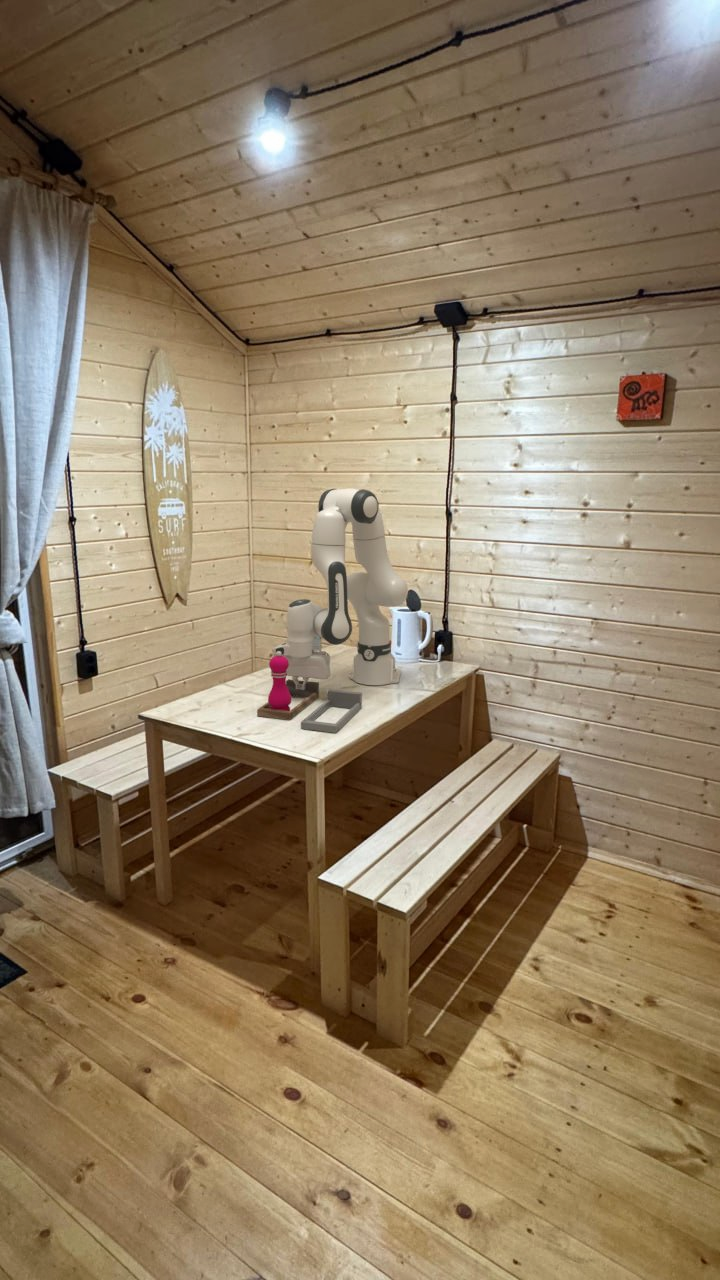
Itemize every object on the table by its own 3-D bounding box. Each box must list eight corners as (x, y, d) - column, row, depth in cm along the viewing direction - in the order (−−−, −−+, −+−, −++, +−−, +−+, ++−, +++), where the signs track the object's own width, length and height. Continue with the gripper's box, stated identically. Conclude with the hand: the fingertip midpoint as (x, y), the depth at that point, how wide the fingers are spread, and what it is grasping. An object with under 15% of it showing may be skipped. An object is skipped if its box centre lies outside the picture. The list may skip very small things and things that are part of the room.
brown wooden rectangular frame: (288, 693, 236) (288, 679, 234) (318, 696, 232) (318, 682, 231) (257, 715, 213) (256, 700, 212) (290, 719, 210) (289, 704, 209)
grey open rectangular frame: (329, 703, 225) (329, 689, 224) (361, 707, 222) (361, 692, 221) (300, 728, 203) (300, 712, 202) (336, 732, 200) (336, 716, 199)
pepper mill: (291, 709, 220) (290, 648, 216) (291, 716, 213) (290, 653, 209) (268, 709, 220) (267, 648, 215) (267, 717, 213) (266, 654, 208)
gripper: (333, 649, 227) (333, 689, 231) (276, 644, 233) (276, 683, 236) (326, 653, 222) (326, 695, 225) (268, 648, 227) (269, 688, 231)
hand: (300, 689), depth 231 cm, fingers closed, pressing on brown wooden rectangular frame
